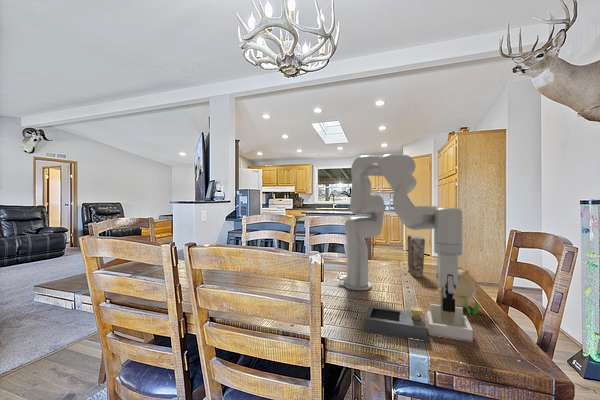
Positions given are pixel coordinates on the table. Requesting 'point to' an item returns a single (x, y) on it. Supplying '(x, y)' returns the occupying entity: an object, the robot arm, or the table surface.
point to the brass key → (416, 312)
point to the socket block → (394, 323)
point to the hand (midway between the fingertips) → (447, 307)
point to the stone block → (415, 255)
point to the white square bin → (456, 331)
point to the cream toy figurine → (465, 291)
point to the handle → (446, 316)
